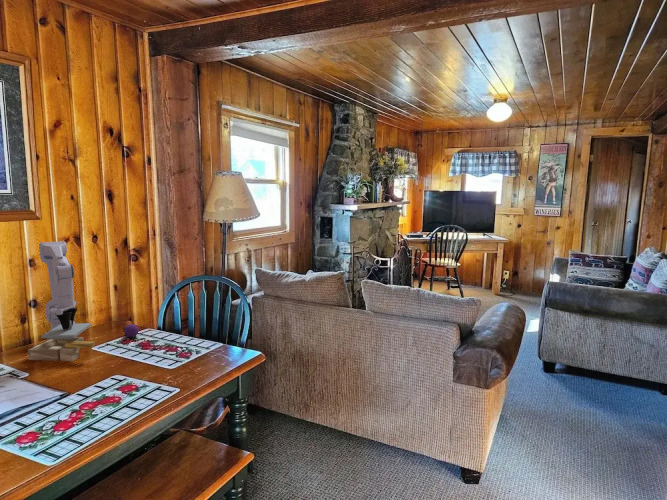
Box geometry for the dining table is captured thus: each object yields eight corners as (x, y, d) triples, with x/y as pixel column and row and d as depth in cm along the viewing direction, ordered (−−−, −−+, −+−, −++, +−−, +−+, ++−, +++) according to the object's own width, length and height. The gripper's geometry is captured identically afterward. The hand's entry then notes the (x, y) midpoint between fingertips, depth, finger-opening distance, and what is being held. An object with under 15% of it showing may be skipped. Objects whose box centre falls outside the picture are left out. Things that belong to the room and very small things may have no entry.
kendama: (136, 318, 213) (139, 325, 196) (134, 330, 213) (137, 338, 196) (122, 317, 210) (125, 325, 193) (120, 329, 210) (123, 338, 193)
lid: (61, 328, 183) (60, 315, 183) (91, 327, 185) (90, 315, 184) (41, 340, 168) (40, 327, 167) (74, 339, 169) (74, 326, 169)
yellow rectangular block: (70, 344, 171) (70, 340, 170) (94, 345, 170) (94, 341, 170) (65, 347, 168) (65, 343, 167) (90, 348, 167) (89, 344, 167)
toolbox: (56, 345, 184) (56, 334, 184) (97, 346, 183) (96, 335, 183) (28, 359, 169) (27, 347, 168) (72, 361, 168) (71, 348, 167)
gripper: (62, 291, 181) (64, 322, 182) (46, 299, 167) (48, 333, 168) (80, 290, 182) (82, 321, 184) (66, 298, 168) (68, 332, 170)
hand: (67, 327), depth 176 cm, fingers closed on lid, 3 cm apart
